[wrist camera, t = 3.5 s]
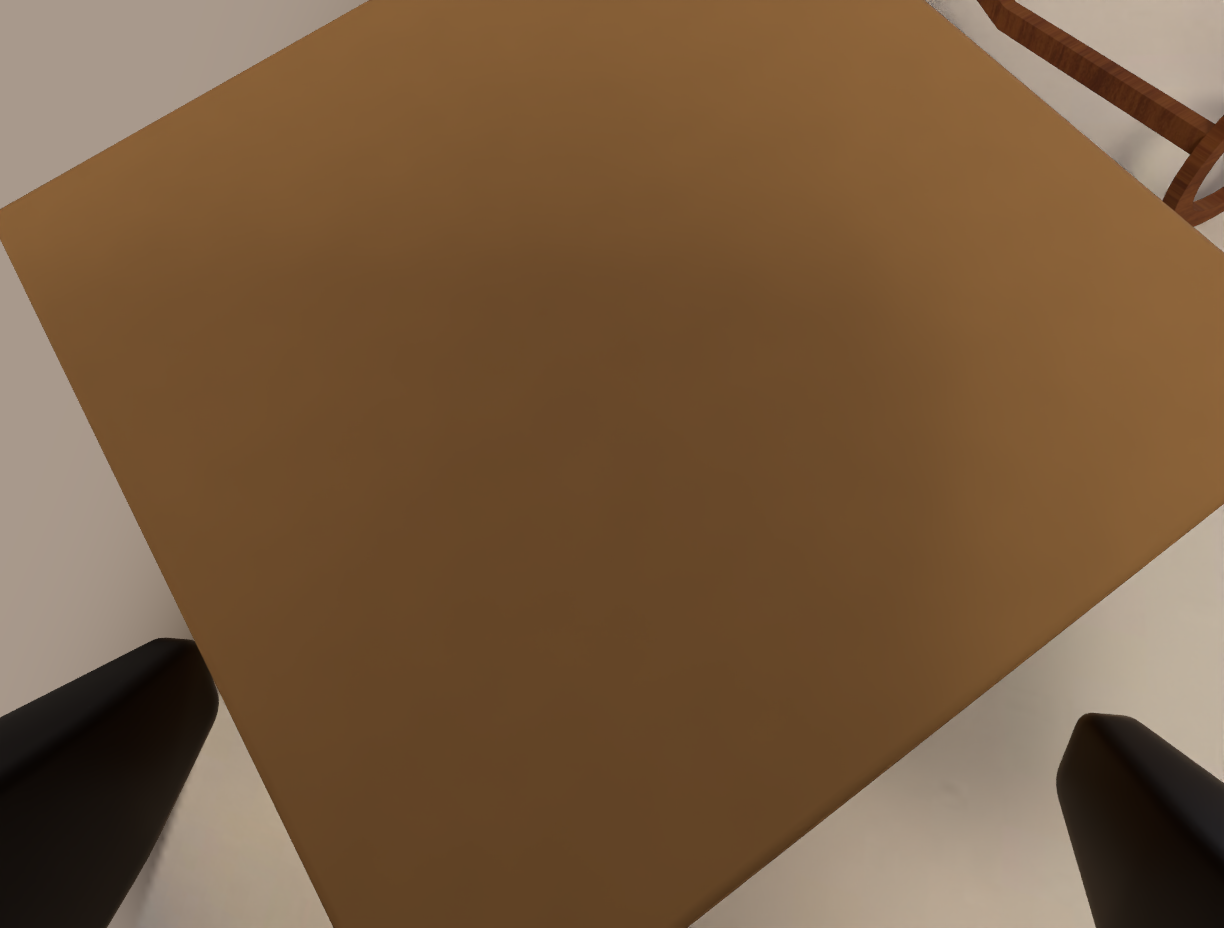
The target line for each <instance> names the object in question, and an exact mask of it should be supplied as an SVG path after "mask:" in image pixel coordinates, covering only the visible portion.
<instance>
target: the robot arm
mask: <svg viewBox="0 0 1224 928" xmlns="http://www.w3.org/2000/svg"><path fill="white" fill-rule="evenodd" d="M218 706H219V698H218V693H217V690H216V686H215V683H214V680H213V678H212V675H211V673H210V671H209V669H208V667H207V665H206V663H205V661H204V659H203V657H202V655H201V653H200V651H199V649H198V647H197V645H196V642H195V641H193V640H187V639H175V638H158V639H155V640H153V641H151V642H148V643H147V644H144V645H142V646H140V647H138V648H136V649H134V650H132V651H131V652H129V653H127V654H125V655H123V656H121V657H119V658H117V659H115V660H113V661H111V662H109V663H107V664H105V665H103V666H101V667H99V668H97V669H95V670H93V671H91V672H89V673H87V674H85V675H83V676H81V677H79V678H77V679H75V680H74V681H72V682H69V683H67V684H65V685H63V686H61V687H60V688H57V689H55V690H54V691H52V692H50V693H48V694H46V695H44V696H42V697H40V698H38V699H36V700H34V701H32V702H30V703H28V704H26V705H24V706H22V707H20V708H18V709H16V710H14V711H12V712H10V713H8V714H6V715H4V716H2V717H1V718H0V928H107V927H108V925H109V923H110V922H111V920H112V918H113V917H114V915H115V913H116V912H117V910H118V908H119V907H120V905H121V903H122V902H123V900H124V898H125V897H126V895H127V893H128V892H129V890H130V888H131V887H132V885H133V883H134V882H135V880H136V878H137V876H138V875H139V873H140V871H141V869H142V868H143V865H144V864H145V862H146V861H147V859H148V857H149V855H150V853H151V851H152V849H153V847H154V845H155V843H156V842H157V840H158V838H159V836H160V834H161V832H162V830H163V828H164V826H165V824H166V821H167V819H168V817H169V815H170V813H171V811H172V809H173V807H174V805H175V803H176V801H177V798H178V796H179V794H180V792H181V790H182V788H183V786H184V784H185V782H186V780H187V778H188V776H189V773H190V771H191V769H192V767H193V765H194V763H195V761H196V759H197V757H198V755H199V753H200V751H201V748H202V746H203V744H204V742H205V740H206V738H207V736H208V734H209V732H210V730H211V728H212V726H213V723H214V721H215V719H216V715H217V712H218ZM1056 787H1057V794H1058V798H1059V802H1060V806H1061V809H1062V812H1063V816H1064V819H1065V823H1066V826H1067V830H1068V833H1069V837H1070V840H1071V843H1072V847H1073V850H1074V854H1075V857H1076V861H1077V864H1078V867H1079V871H1080V874H1081V878H1082V881H1083V885H1084V888H1085V892H1086V895H1087V898H1088V902H1089V905H1090V909H1091V912H1092V916H1093V919H1094V923H1095V926H1096V928H1224V783H1223V782H1221V781H1220V780H1219V779H1217V778H1216V777H1215V776H1213V775H1212V774H1210V773H1209V772H1208V771H1206V770H1205V769H1204V768H1202V767H1201V766H1199V765H1198V764H1197V763H1195V762H1194V761H1193V760H1191V759H1190V758H1188V757H1187V756H1186V755H1184V754H1183V753H1182V752H1180V751H1179V750H1178V749H1176V748H1175V747H1173V746H1172V745H1171V744H1169V743H1168V742H1167V741H1165V740H1164V739H1162V738H1161V737H1160V736H1158V735H1157V734H1156V733H1154V732H1153V731H1151V730H1150V729H1149V728H1147V727H1146V726H1145V725H1143V724H1142V723H1140V722H1139V721H1137V720H1136V719H1134V718H1131V717H1128V716H1124V715H1112V714H1100V713H1088V714H1085V715H1083V716H1082V717H1081V718H1079V720H1078V721H1077V723H1076V725H1075V728H1074V730H1073V733H1072V735H1071V738H1070V740H1069V743H1068V745H1067V748H1066V750H1065V753H1064V755H1063V758H1062V760H1061V763H1060V765H1059V768H1058V772H1057V778H1056Z"/></svg>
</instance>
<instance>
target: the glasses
mask: <svg viewBox="0 0 1224 928" xmlns="http://www.w3.org/2000/svg"><path fill="white" fill-rule="evenodd" d="M977 1H978V2H979V4H980V5H981V7H982V8H983V9H984V11H985V12H986V14H987V15H988V16H989V18H990V19H991V21H992V22H993V23H994V25H995V26H996V28H997V29H998V30H1000V31H1001V32H1003V33H1004V34H1006V35H1007V36H1009V37H1010V38H1012V39H1014V40H1015V41H1017V42H1018V43H1020V44H1021V45H1023V46H1024V47H1026V48H1027V49H1029V50H1030V51H1032V52H1034V53H1035V54H1037V55H1038V56H1040V57H1041V58H1043V59H1044V60H1046V61H1047V62H1049V63H1050V64H1052V65H1054V66H1055V67H1057V68H1058V69H1060V70H1061V71H1063V72H1064V73H1066V74H1067V75H1069V76H1070V77H1072V78H1074V79H1075V80H1077V81H1078V82H1080V83H1081V84H1083V85H1084V86H1086V87H1087V88H1089V89H1090V90H1092V91H1093V92H1095V93H1097V94H1098V95H1100V96H1101V97H1103V98H1104V99H1106V100H1107V101H1109V102H1110V103H1112V104H1113V105H1115V106H1117V107H1118V108H1120V109H1121V110H1123V111H1124V112H1126V113H1127V114H1129V115H1130V116H1132V117H1133V118H1135V119H1137V120H1138V121H1140V122H1141V123H1143V124H1144V125H1146V126H1147V127H1149V128H1150V129H1152V130H1153V131H1155V132H1157V133H1158V134H1160V135H1161V136H1163V137H1164V138H1166V139H1167V140H1169V141H1170V142H1172V143H1173V144H1175V145H1176V146H1178V147H1180V148H1181V149H1183V150H1184V151H1186V152H1187V153H1189V154H1190V156H1189V157H1188V158H1187V160H1186V161H1185V163H1184V164H1183V166H1182V167H1181V169H1180V170H1179V172H1178V173H1177V175H1176V176H1175V178H1174V179H1173V181H1172V183H1171V185H1170V187H1169V188H1168V190H1167V192H1166V194H1165V197H1164V199H1163V202H1164V203H1165V204H1166V205H1168V206H1169V207H1170V208H1171V209H1172V210H1174V211H1175V212H1176V213H1177V214H1178V215H1180V216H1181V217H1182V218H1183V219H1184V220H1185V221H1187V222H1188V223H1189V224H1190V225H1191V226H1193V227H1194V226H1197V225H1199V224H1201V223H1203V222H1205V221H1207V220H1209V219H1211V218H1213V217H1215V216H1216V215H1218V214H1220V213H1221V212H1223V211H1224V187H1222V188H1221V189H1219V190H1218V191H1216V192H1214V193H1213V194H1211V195H1209V196H1207V197H1205V198H1203V199H1200V200H1197V201H1195V202H1193V201H1194V197H1195V195H1196V193H1197V191H1198V189H1199V187H1200V185H1201V183H1202V182H1203V180H1204V179H1205V177H1206V175H1207V174H1208V173H1209V171H1210V170H1211V168H1212V167H1213V166H1214V164H1215V163H1216V161H1217V160H1218V159H1219V158H1220V156H1221V155H1222V154H1223V153H1224V115H1223V116H1222V117H1221V118H1220V119H1219V121H1218V122H1217V123H1216V124H1214V123H1212V122H1211V121H1209V120H1207V119H1206V118H1204V117H1202V116H1201V115H1199V114H1198V113H1196V112H1194V111H1193V110H1191V109H1189V108H1188V107H1186V106H1185V105H1183V104H1181V103H1180V102H1178V101H1176V100H1175V99H1173V98H1172V97H1170V96H1168V95H1167V94H1165V93H1163V92H1162V91H1160V90H1159V89H1157V88H1155V87H1154V86H1152V85H1150V84H1149V83H1147V82H1146V81H1144V80H1142V79H1141V78H1139V77H1137V76H1136V75H1134V74H1133V73H1131V72H1129V71H1128V70H1126V69H1124V68H1123V67H1121V66H1120V65H1118V64H1116V63H1115V62H1113V61H1111V60H1110V59H1108V58H1107V57H1105V56H1103V55H1102V54H1100V53H1098V52H1097V51H1095V50H1094V49H1092V48H1090V47H1089V46H1087V45H1085V44H1084V43H1082V42H1081V41H1079V40H1077V39H1076V38H1074V37H1072V36H1071V35H1069V34H1068V33H1066V32H1064V31H1063V30H1061V29H1059V28H1058V27H1056V26H1054V25H1053V24H1051V23H1050V22H1048V21H1046V20H1045V19H1043V18H1041V17H1040V16H1038V15H1037V14H1035V13H1033V12H1032V11H1030V10H1028V9H1027V8H1025V7H1023V6H1022V5H1020V4H1019V3H1017V2H1016V1H1015V0H977Z"/></svg>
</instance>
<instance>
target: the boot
mask: <svg viewBox="0 0 1224 928" xmlns="http://www.w3.org/2000/svg"><path fill="white" fill-rule="evenodd" d="M0 240H1V242H2V244H3V246H4V248H5V250H6V252H7V254H8V256H9V258H10V260H11V263H12V264H13V266H14V269H15V271H16V273H17V275H18V277H19V279H20V281H21V283H22V285H23V287H24V289H25V291H26V294H27V295H28V298H29V300H30V302H31V304H32V306H33V308H34V310H35V312H36V314H37V316H38V318H39V320H40V322H41V324H42V327H43V329H44V331H45V333H46V335H47V337H48V339H49V341H50V343H51V345H52V347H53V349H54V351H55V353H56V355H57V357H58V360H59V361H60V364H61V366H62V368H63V370H64V372H65V374H66V376H67V378H68V380H69V382H70V384H71V386H72V388H73V390H74V392H75V395H76V397H77V399H78V401H79V403H80V405H81V407H82V409H83V411H84V413H85V415H86V417H87V419H88V422H89V424H90V426H91V428H92V429H93V432H94V434H95V436H96V438H97V440H98V442H99V444H100V446H101V448H102V450H103V452H104V454H105V457H106V459H107V461H108V463H109V465H110V467H111V469H112V471H113V473H114V475H115V477H116V479H117V481H118V483H119V485H120V487H121V489H122V492H123V494H124V496H125V498H126V500H127V502H128V504H129V506H130V508H131V510H132V512H133V514H134V516H135V518H136V521H137V523H138V525H139V527H140V529H141V531H142V533H143V535H144V537H145V539H146V541H147V543H148V545H149V547H150V549H151V552H152V554H153V556H154V558H155V560H156V562H157V564H158V566H159V568H160V570H161V572H162V574H163V576H164V578H165V580H166V582H167V585H168V587H169V589H170V591H171V593H172V595H173V597H174V599H175V601H176V603H177V605H178V607H179V609H180V611H181V614H182V615H183V618H184V620H185V622H186V624H187V626H188V628H189V630H190V632H191V634H192V636H193V638H194V640H195V642H196V645H197V647H198V649H199V651H200V653H201V655H202V657H203V659H204V661H205V663H206V665H207V667H208V669H209V671H210V673H211V675H212V678H213V680H214V682H215V684H216V686H217V688H218V690H219V692H220V694H221V696H222V698H223V700H224V702H225V704H226V706H227V709H228V711H229V713H230V715H231V717H232V719H233V721H234V723H235V725H236V727H237V729H238V731H239V733H240V735H241V737H242V739H243V742H244V744H245V746H246V748H247V750H248V752H249V754H250V756H251V758H252V760H253V762H254V764H255V766H256V768H257V770H258V773H259V775H260V777H261V779H262V781H263V783H264V785H265V787H266V789H267V791H268V793H269V795H270V797H271V799H272V801H273V803H274V806H275V808H276V810H277V812H278V814H279V816H280V818H281V820H282V822H283V824H284V826H285V828H286V830H287V832H288V834H289V837H290V839H291V841H292V843H293V845H294V847H295V849H296V851H297V853H298V855H299V857H300V859H301V861H302V863H303V865H304V867H305V870H306V872H307V874H308V876H309V878H310V880H311V882H312V884H313V886H314V888H315V890H316V892H317V894H318V896H319V898H320V901H321V903H322V905H323V907H324V909H325V911H326V913H327V915H328V917H329V919H330V921H331V923H332V925H333V927H334V928H687V927H689V926H690V925H691V924H692V923H694V922H695V921H696V920H698V919H699V918H700V917H701V916H703V915H704V914H705V913H706V912H708V911H709V910H710V909H711V908H713V907H714V906H715V905H717V904H718V903H719V902H720V901H722V900H723V899H724V898H725V897H727V896H728V895H729V894H730V893H732V892H733V891H734V890H736V889H737V888H738V887H739V886H741V885H742V884H743V883H744V882H746V881H747V880H748V879H749V878H751V877H752V876H753V875H755V874H756V873H757V872H758V871H760V870H761V869H762V868H763V867H765V866H766V865H767V864H768V863H770V862H771V861H772V860H773V859H775V858H776V857H777V856H779V855H780V854H781V853H782V852H784V851H785V850H786V849H787V848H789V847H790V846H791V845H792V844H794V843H795V842H796V841H798V840H799V839H800V838H801V837H803V836H804V835H805V834H806V833H808V832H809V831H810V830H811V829H813V828H814V827H815V826H817V825H818V824H819V823H820V822H822V821H823V820H824V819H825V818H827V817H828V816H829V815H830V814H832V813H833V812H834V811H836V810H837V809H838V808H839V807H841V806H842V805H843V804H844V803H846V802H847V801H848V800H849V799H851V798H852V797H853V796H855V795H856V794H857V793H858V792H860V791H861V790H862V789H863V788H865V787H866V786H867V785H868V784H870V783H871V782H872V781H874V780H875V779H876V778H877V777H879V776H880V775H881V774H882V773H884V772H885V771H886V770H887V769H889V768H890V767H891V766H892V765H894V764H895V763H896V762H898V761H899V760H900V759H901V758H903V757H904V756H905V755H906V754H908V753H909V752H910V751H911V750H913V749H914V748H915V747H917V746H918V745H919V744H920V743H922V742H923V741H924V740H925V739H927V738H928V737H929V736H930V735H932V734H933V733H934V732H936V731H937V730H938V729H939V728H941V727H942V726H943V725H944V724H946V723H947V722H948V721H949V720H951V719H952V718H953V717H955V716H956V715H957V714H958V713H960V712H961V711H962V710H963V709H965V708H966V707H967V706H968V705H970V704H971V703H972V702H974V701H975V700H976V699H977V698H979V697H980V696H981V695H982V694H984V693H985V692H986V691H987V690H989V689H990V688H991V687H993V686H994V685H995V684H996V683H998V682H999V681H1000V680H1001V679H1003V678H1004V677H1005V676H1006V675H1008V674H1009V673H1010V672H1011V671H1013V670H1014V669H1015V668H1017V667H1018V666H1019V665H1020V664H1022V663H1023V662H1024V661H1025V660H1027V659H1028V658H1029V657H1030V656H1032V655H1033V654H1034V653H1036V652H1037V651H1038V650H1039V649H1041V648H1042V647H1043V646H1044V645H1046V644H1047V643H1048V642H1049V641H1051V640H1052V639H1053V638H1055V637H1056V636H1057V635H1058V634H1060V633H1061V632H1062V631H1063V630H1065V629H1066V628H1067V627H1068V626H1070V625H1071V624H1072V623H1074V622H1075V621H1076V620H1077V619H1079V618H1080V617H1081V616H1082V615H1084V614H1085V613H1086V612H1087V611H1089V610H1090V609H1091V608H1093V607H1094V606H1095V605H1096V604H1098V603H1099V602H1100V601H1101V600H1103V599H1104V598H1105V597H1106V596H1108V595H1109V594H1110V593H1112V592H1113V591H1114V590H1115V589H1117V588H1118V587H1119V586H1120V585H1122V584H1123V583H1124V582H1125V581H1127V580H1128V579H1129V578H1130V577H1132V576H1133V575H1134V574H1136V573H1137V572H1138V571H1139V570H1141V569H1142V568H1143V567H1144V566H1146V565H1147V564H1148V563H1149V562H1151V561H1152V560H1153V559H1155V558H1156V557H1157V556H1158V555H1160V554H1161V553H1162V552H1163V551H1165V550H1166V549H1167V548H1168V547H1170V546H1171V545H1172V544H1174V543H1175V542H1176V541H1177V540H1179V539H1180V538H1181V537H1182V536H1184V535H1185V534H1186V533H1187V532H1189V531H1190V530H1191V529H1193V528H1194V527H1195V526H1196V525H1198V524H1199V523H1200V522H1201V521H1203V520H1204V519H1205V518H1206V517H1208V516H1209V515H1210V514H1212V513H1213V512H1214V511H1215V510H1217V509H1218V508H1219V507H1220V506H1222V505H1223V504H1224V253H1223V252H1222V251H1221V250H1220V249H1219V248H1218V247H1216V246H1215V245H1214V244H1213V243H1212V242H1210V241H1209V240H1208V239H1207V238H1206V237H1204V236H1203V235H1202V234H1201V233H1200V232H1199V231H1197V230H1196V229H1195V228H1194V227H1193V226H1191V225H1190V224H1189V223H1188V222H1187V221H1185V220H1184V219H1183V218H1182V217H1181V216H1180V215H1178V214H1177V213H1176V212H1175V211H1174V210H1172V209H1171V208H1170V207H1169V206H1168V205H1166V204H1165V203H1164V202H1163V201H1162V200H1161V199H1159V198H1158V197H1157V196H1156V195H1155V194H1153V193H1152V192H1151V191H1150V190H1149V189H1148V188H1146V187H1145V186H1144V185H1143V184H1142V183H1140V182H1139V181H1138V180H1137V179H1136V178H1134V177H1133V176H1132V175H1131V174H1130V173H1129V172H1127V171H1126V170H1125V169H1124V168H1123V167H1121V166H1120V165H1119V164H1118V163H1117V162H1115V161H1114V160H1113V159H1112V158H1111V157H1110V156H1108V155H1107V154H1106V153H1105V152H1104V151H1102V150H1101V149H1100V148H1099V147H1098V146H1097V145H1095V144H1094V143H1093V142H1092V141H1091V140H1089V139H1088V138H1087V137H1086V136H1085V135H1083V134H1082V133H1081V132H1080V131H1079V130H1078V129H1076V128H1075V127H1074V126H1073V125H1072V124H1070V123H1069V122H1068V121H1067V120H1066V119H1064V118H1063V117H1062V116H1061V115H1060V114H1059V113H1057V112H1056V111H1055V110H1054V109H1053V108H1051V107H1050V106H1049V105H1048V104H1047V103H1046V102H1044V101H1043V100H1042V99H1041V98H1040V97H1038V96H1037V95H1036V94H1035V93H1034V92H1032V91H1031V90H1030V89H1029V88H1028V87H1027V86H1025V85H1024V84H1023V83H1022V82H1021V81H1019V80H1018V79H1017V78H1016V77H1015V76H1013V75H1012V74H1011V73H1010V72H1009V71H1008V70H1006V69H1005V68H1004V67H1003V66H1002V65H1000V64H999V63H998V62H997V61H996V60H994V59H993V58H992V57H991V56H990V55H989V54H987V53H986V52H985V51H984V50H983V49H981V48H980V47H979V46H978V45H977V44H976V43H974V42H973V41H972V40H971V39H970V38H968V37H967V36H966V35H965V34H964V33H962V32H961V31H960V30H959V29H958V28H957V27H955V26H954V25H953V24H952V23H951V22H949V21H948V20H947V19H946V18H945V17H943V16H942V15H941V14H940V13H939V12H938V11H936V10H935V9H934V8H933V7H932V6H930V5H929V4H928V3H927V2H926V1H925V0H369V1H367V2H365V3H363V4H362V5H360V6H358V7H357V8H355V9H353V10H351V11H349V12H347V13H346V14H344V15H342V16H340V17H339V18H337V19H335V20H333V21H332V22H330V23H328V24H326V25H325V26H323V27H321V28H319V29H318V30H316V31H314V32H312V33H310V34H309V35H307V36H305V37H303V38H302V39H300V40H298V41H296V42H295V43H293V44H291V45H289V46H287V47H286V48H284V49H282V50H280V51H279V52H277V53H275V54H273V55H272V56H270V57H268V58H267V59H264V60H263V61H261V62H259V63H257V64H256V65H254V66H252V67H250V68H249V69H247V70H245V71H243V72H242V73H240V74H238V75H236V76H234V77H233V78H231V79H229V80H227V81H226V82H224V83H222V84H220V85H219V86H217V87H215V88H213V89H212V90H210V91H208V92H206V93H205V94H203V95H201V96H200V97H198V98H196V99H194V100H192V101H190V102H189V103H187V104H185V105H183V106H182V107H180V108H178V109H176V110H175V111H173V112H171V113H169V114H167V115H166V116H164V117H162V118H160V119H159V120H157V121H155V122H153V123H152V124H150V125H148V126H146V127H145V128H143V129H141V130H139V131H137V132H136V133H134V134H132V135H130V136H129V137H127V138H125V139H123V140H122V141H120V142H118V143H116V144H114V145H113V146H111V147H109V148H107V149H106V150H104V151H102V152H100V153H99V154H97V155H95V156H93V157H91V158H90V159H88V160H86V161H85V162H83V163H81V164H79V165H77V166H76V167H74V168H72V169H70V170H69V171H67V172H65V173H63V174H61V175H60V176H58V177H56V178H54V179H53V180H51V181H49V182H47V183H46V184H44V185H42V186H40V187H39V188H37V189H35V190H33V191H31V192H30V193H28V194H26V195H24V196H23V197H21V198H19V199H17V200H16V201H14V202H12V203H10V204H8V205H7V206H5V207H4V208H2V209H0Z"/></svg>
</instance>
